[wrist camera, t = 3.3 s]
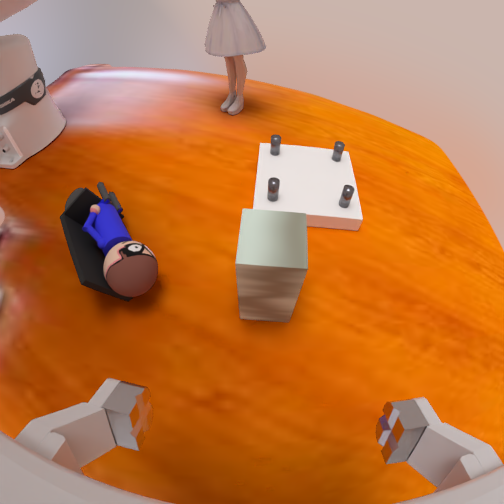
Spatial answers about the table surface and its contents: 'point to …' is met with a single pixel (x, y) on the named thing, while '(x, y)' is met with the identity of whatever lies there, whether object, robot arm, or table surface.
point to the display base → (308, 184)
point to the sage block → (270, 263)
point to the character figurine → (106, 246)
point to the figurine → (233, 46)
